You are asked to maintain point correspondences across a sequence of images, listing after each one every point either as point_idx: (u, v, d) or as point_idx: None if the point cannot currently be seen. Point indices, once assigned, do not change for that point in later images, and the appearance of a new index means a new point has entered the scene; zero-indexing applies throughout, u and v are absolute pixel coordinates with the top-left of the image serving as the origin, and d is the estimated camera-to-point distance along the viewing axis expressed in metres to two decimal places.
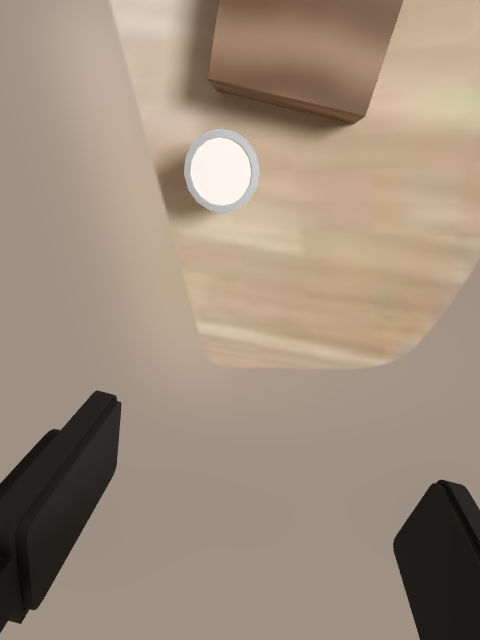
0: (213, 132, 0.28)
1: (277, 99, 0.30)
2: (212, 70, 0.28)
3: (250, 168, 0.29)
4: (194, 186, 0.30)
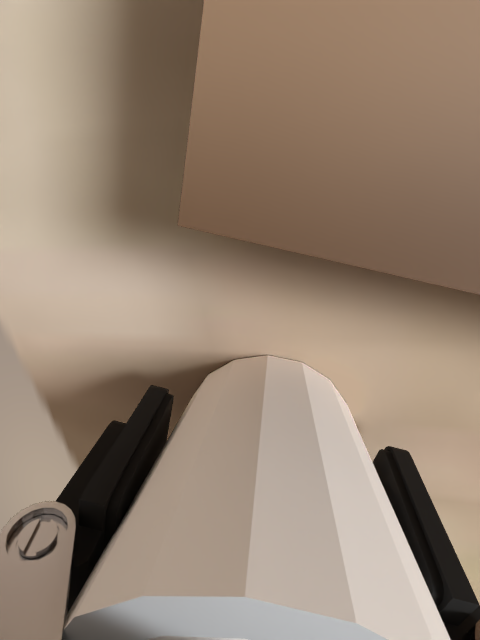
0: (205, 610, 0.04)
1: None
2: (207, 181, 0.04)
3: None
4: None
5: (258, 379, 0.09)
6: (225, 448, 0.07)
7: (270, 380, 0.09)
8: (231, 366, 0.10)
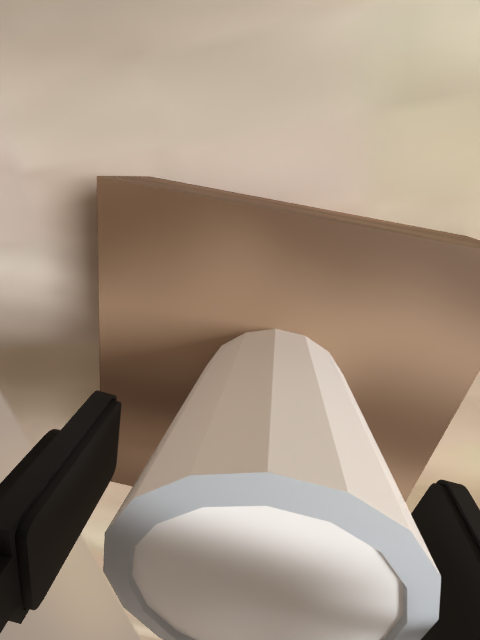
0: (237, 484, 0.05)
1: None
2: None
3: (398, 608, 0.06)
4: (147, 607, 0.07)
5: (268, 345, 0.10)
6: (244, 391, 0.08)
7: (278, 346, 0.10)
8: (243, 337, 0.12)
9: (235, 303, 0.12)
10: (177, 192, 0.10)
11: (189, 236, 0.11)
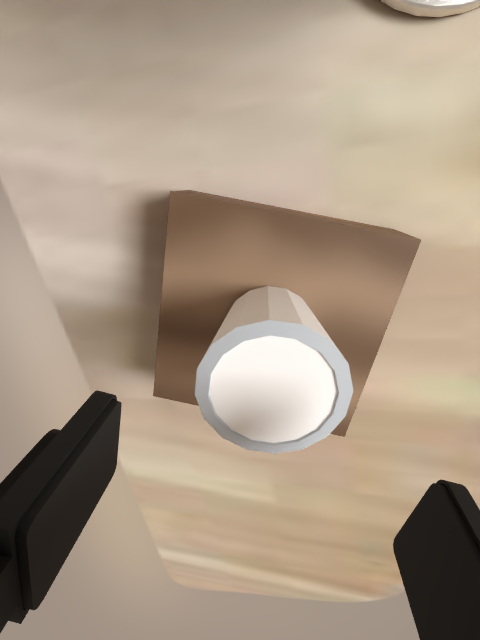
0: (257, 327, 0.13)
1: None
2: (158, 389, 0.23)
3: (334, 387, 0.14)
4: (217, 414, 0.15)
5: (264, 292, 0.18)
6: (254, 306, 0.16)
7: (270, 292, 0.18)
8: (249, 292, 0.19)
9: (248, 267, 0.19)
10: (216, 201, 0.18)
11: (222, 226, 0.19)
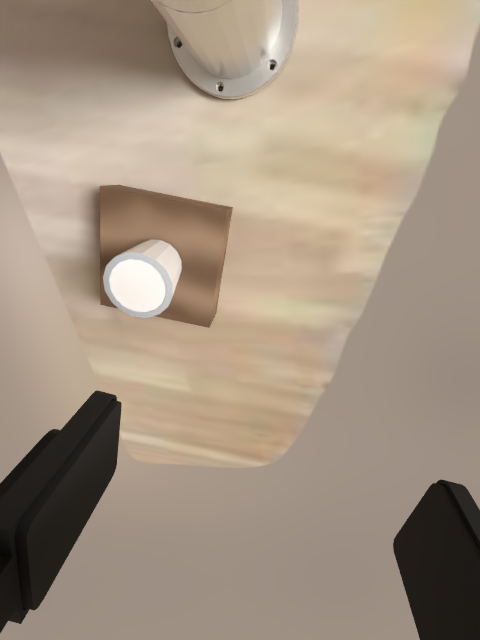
0: (112, 261, 0.30)
1: None
2: (103, 300, 0.41)
3: (157, 272, 0.31)
4: (125, 306, 0.33)
5: None
6: None
7: None
8: None
9: (143, 226, 0.36)
10: (123, 191, 0.35)
11: (128, 204, 0.36)
